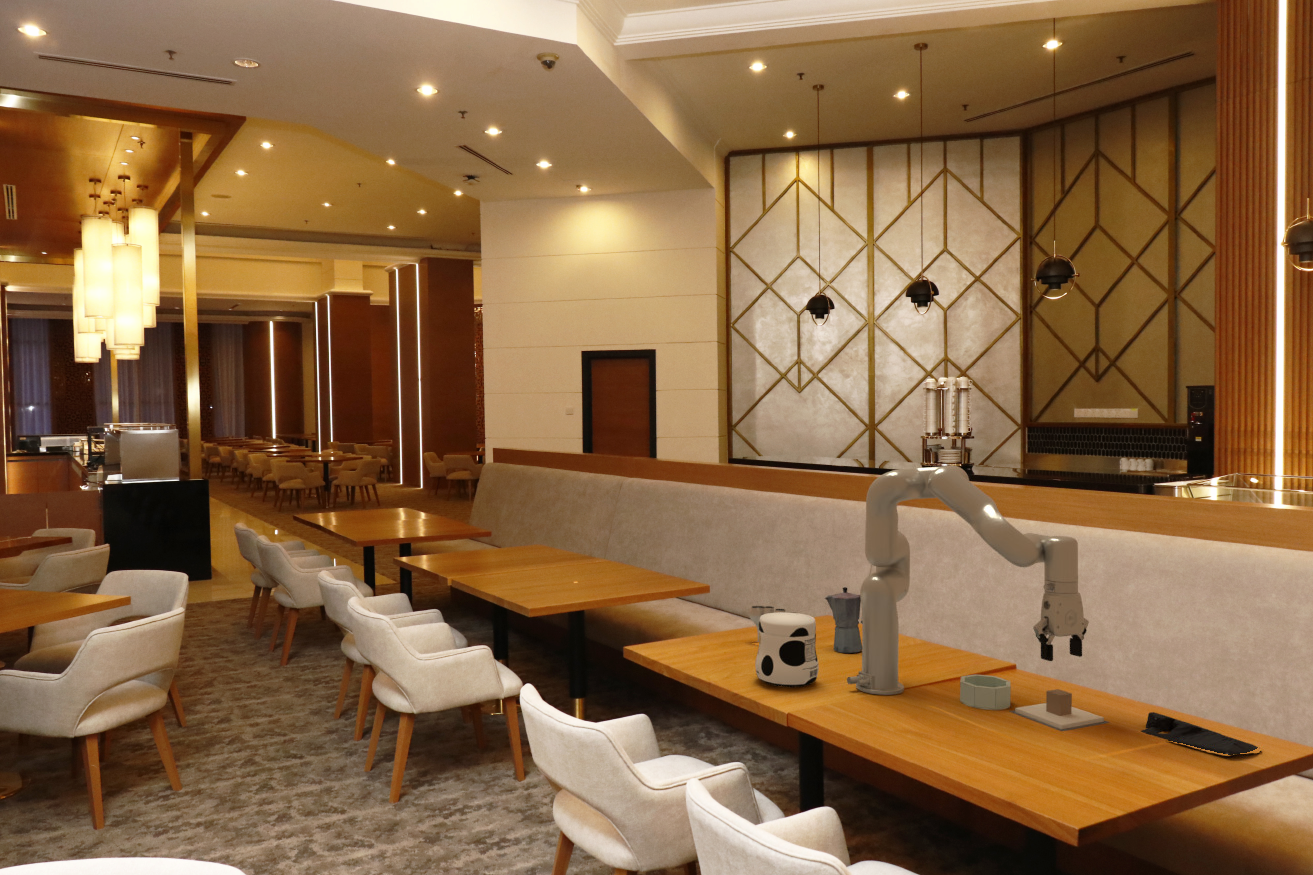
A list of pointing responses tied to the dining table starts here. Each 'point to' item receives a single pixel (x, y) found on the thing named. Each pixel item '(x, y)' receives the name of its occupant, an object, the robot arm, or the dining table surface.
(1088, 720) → the lid
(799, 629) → the milk container
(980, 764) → the dining table surface
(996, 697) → the bowl
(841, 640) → the moka pot
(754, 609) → the goblet set
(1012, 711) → the mat
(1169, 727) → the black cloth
